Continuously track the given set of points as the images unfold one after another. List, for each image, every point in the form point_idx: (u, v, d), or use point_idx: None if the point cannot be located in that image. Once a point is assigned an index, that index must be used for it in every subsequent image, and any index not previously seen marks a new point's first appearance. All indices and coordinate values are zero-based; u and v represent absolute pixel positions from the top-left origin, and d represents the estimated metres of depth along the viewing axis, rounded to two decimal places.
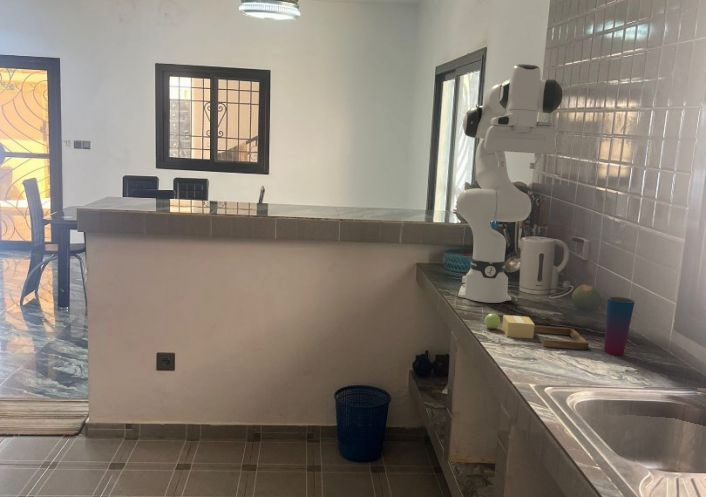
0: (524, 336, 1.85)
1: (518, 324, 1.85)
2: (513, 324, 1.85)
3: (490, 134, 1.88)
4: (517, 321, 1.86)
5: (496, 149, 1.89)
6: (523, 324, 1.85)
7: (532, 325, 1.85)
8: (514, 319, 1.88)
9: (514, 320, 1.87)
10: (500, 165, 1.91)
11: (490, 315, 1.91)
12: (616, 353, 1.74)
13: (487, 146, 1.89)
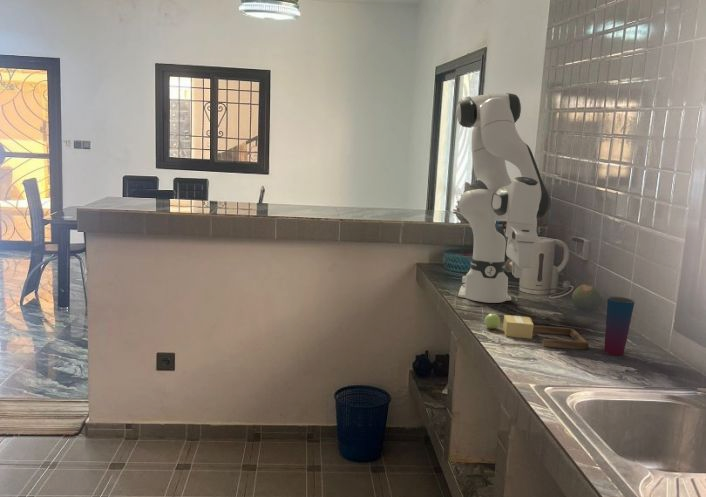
0: (523, 336, 1.85)
1: (517, 324, 1.85)
2: (512, 324, 1.85)
3: None
4: (516, 321, 1.86)
5: None
6: (522, 324, 1.85)
7: (531, 325, 1.84)
8: (514, 319, 1.89)
9: (513, 320, 1.88)
10: None
11: (490, 315, 1.91)
12: (616, 353, 1.74)
13: (531, 264, 1.85)
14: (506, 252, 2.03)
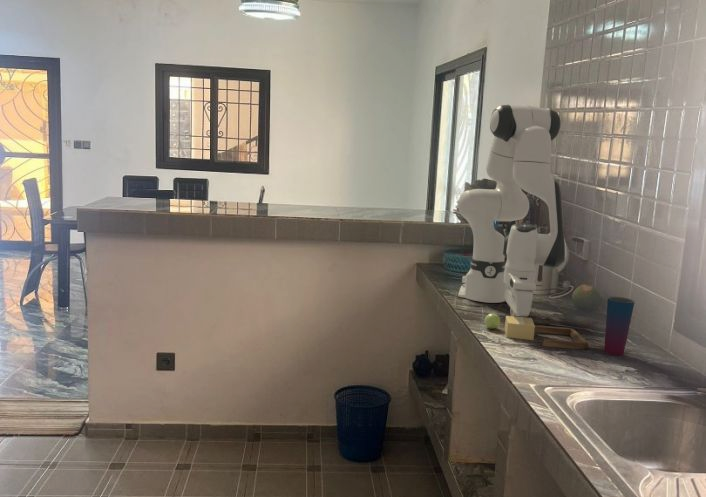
0: (524, 338, 1.84)
1: (518, 325, 1.84)
2: (513, 325, 1.84)
3: None
4: (517, 322, 1.85)
5: None
6: (523, 325, 1.83)
7: (532, 326, 1.83)
8: (515, 320, 1.87)
9: (515, 321, 1.86)
10: None
11: (490, 315, 1.91)
12: (616, 353, 1.74)
13: (529, 313, 1.83)
14: (504, 296, 2.02)
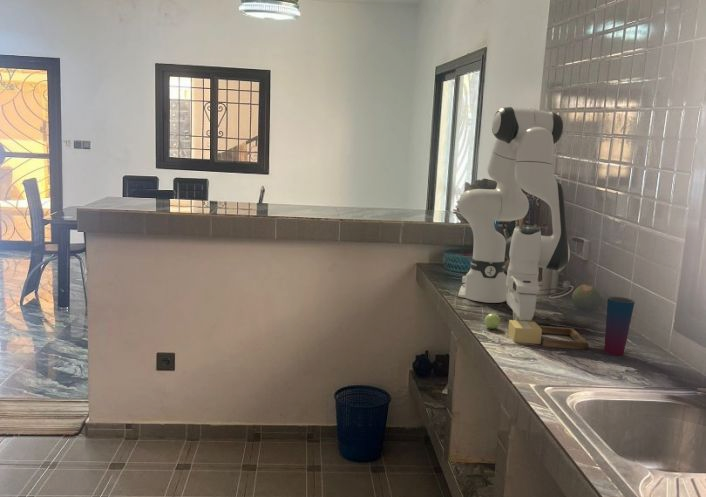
0: (531, 342, 1.80)
1: (525, 329, 1.80)
2: (520, 329, 1.80)
3: (535, 304, 1.79)
4: (524, 326, 1.81)
5: None
6: (530, 329, 1.80)
7: (539, 330, 1.80)
8: (521, 324, 1.84)
9: (521, 325, 1.82)
10: None
11: (490, 315, 1.91)
12: (616, 353, 1.74)
13: (532, 317, 1.80)
14: (507, 300, 1.98)
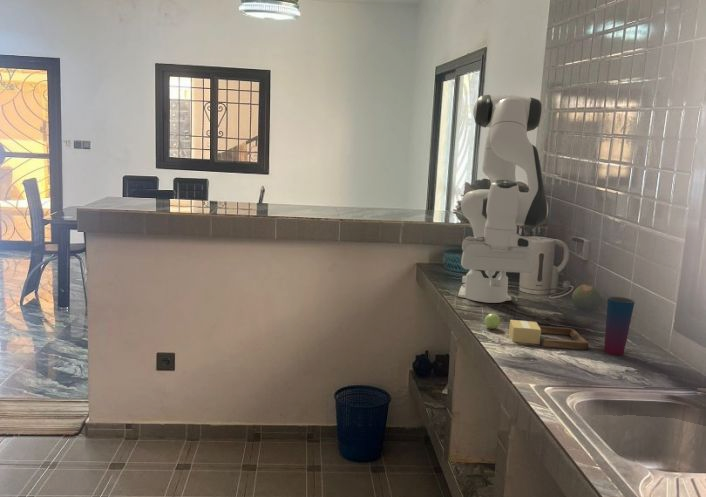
0: (530, 342, 1.80)
1: (524, 329, 1.80)
2: (519, 329, 1.80)
3: None
4: (523, 326, 1.81)
5: None
6: (529, 329, 1.80)
7: (538, 330, 1.80)
8: (520, 324, 1.84)
9: (520, 325, 1.83)
10: None
11: (490, 315, 1.91)
12: (616, 353, 1.74)
13: None
14: (466, 265, 1.81)
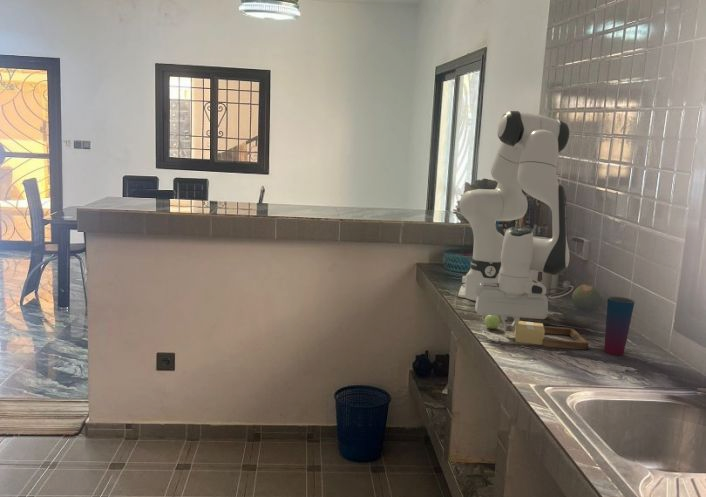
0: (534, 343, 1.80)
1: (527, 330, 1.80)
2: (522, 330, 1.80)
3: None
4: (527, 327, 1.81)
5: None
6: (532, 330, 1.79)
7: (542, 332, 1.79)
8: (525, 325, 1.83)
9: (524, 326, 1.82)
10: None
11: (490, 315, 1.91)
12: (616, 353, 1.74)
13: None
14: (481, 310, 1.83)
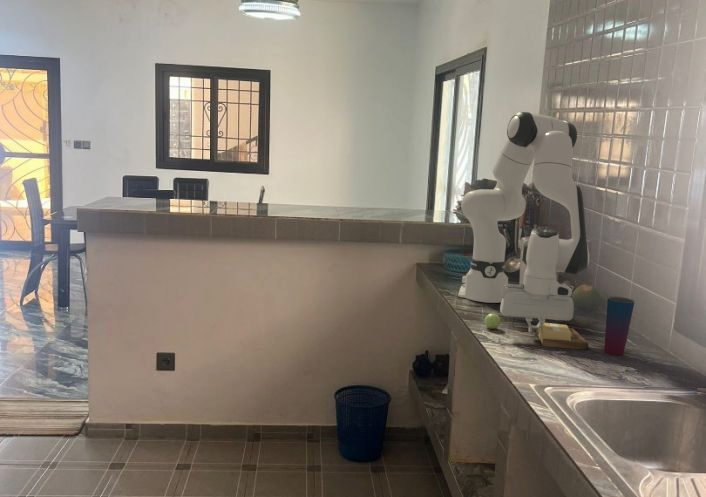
0: None
1: (554, 332, 1.79)
2: (549, 332, 1.79)
3: None
4: (553, 329, 1.81)
5: None
6: (559, 332, 1.79)
7: (569, 333, 1.79)
8: (550, 327, 1.83)
9: (550, 328, 1.82)
10: None
11: (490, 315, 1.91)
12: (616, 353, 1.74)
13: None
14: (506, 312, 1.82)
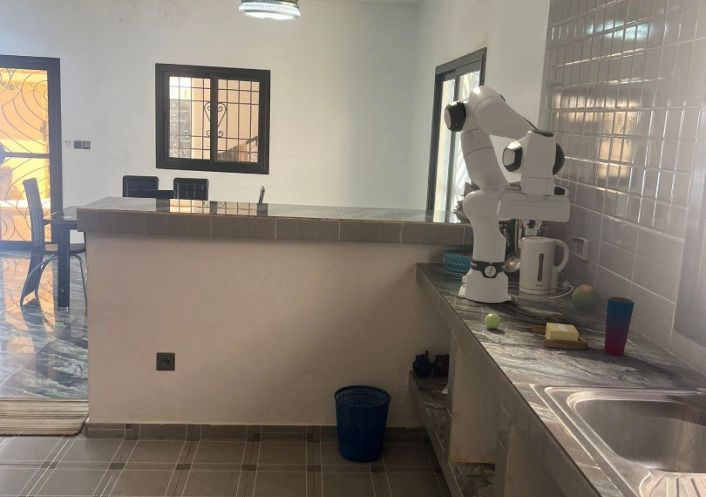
0: None
1: (561, 332, 1.79)
2: (556, 332, 1.79)
3: None
4: (560, 329, 1.81)
5: None
6: (566, 332, 1.79)
7: (576, 334, 1.79)
8: (557, 327, 1.83)
9: (557, 328, 1.82)
10: None
11: (490, 315, 1.91)
12: (616, 353, 1.74)
13: None
14: (503, 214, 1.83)
